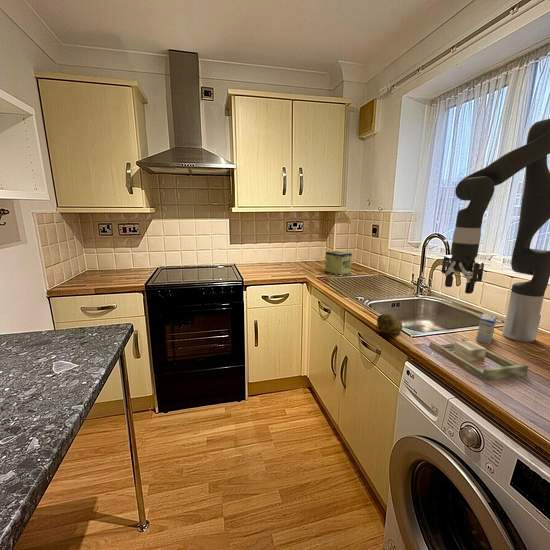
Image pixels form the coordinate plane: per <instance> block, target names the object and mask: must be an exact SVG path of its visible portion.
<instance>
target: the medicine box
mask: <svg viewBox="0 0 550 550" xmlns="http://www.w3.org/2000/svg"><path fill="white" fill-rule="evenodd" d="M496 323H497V315H494V314H489V313H482V315H481V317H480V320H479V323H478V324H479V325H478V329H477V333H476V334H477V335H476V339H475V340H476V341H478V342H481V343H485V344H489V345H490V344H492V340H493V337H494V336H493V335H494V333H495V332H494V331H495V327H496Z"/></svg>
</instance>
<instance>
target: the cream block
mask: <svg viewBox="0 0 550 550" xmlns="http://www.w3.org/2000/svg"><path fill="white" fill-rule="evenodd" d="M454 344H455V345H454V351H452V353H454V354H455V355H457V356H459V357H460V358H462V359H464V360H465V361H467V362H477V361H484V360H485V357H486V355H485V353H486V349H487V348H486V347H484V346H482V345H480V344H478V343H476V342H474V341H472V340H469V341H462V340H461V341H455V342H454Z"/></svg>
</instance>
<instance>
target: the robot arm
mask: <svg viewBox="0 0 550 550" xmlns="http://www.w3.org/2000/svg"><path fill="white" fill-rule="evenodd" d="M525 142H526V144H524V145H521V146H519V147H516V148H514V149H512V150H510V151H508V152H507V153H505V154H503V155H501V156H500V157H498V158H497V159H495V160H494V161H492V162H491V163H490V164H488V165H487V166H486V167H484V168H481V169H480V170H479V169H478V170H477V171H474V172H473V173H471V174H469V175H467V176H466V177H464V178H462V179H461V180H460V181H459V182H458V183H457V186H456V187H455V190H454V191H455V197H456V198H457V199H459V200H460V201H465V202H466V201H467V202H468V201H469V203H468V205H467V206H466V207H464V208H461V209H459V210H458V212H457V214H456V222H455V227H454V231H453V235H452V242H451V249H450V255H451V256H448V255H447V256H443V260H442V266H441V271H440V272H441V274H444V275H445V282H444V286H445V288H451V287H453V282H454V275H455V274H456V273H457V272H458V273H461V274H462V275H463V276H464V277H465V279H466V283H465V289H464V293H465V294H468V295H469V294H473V292H474V291H475V290H474V289H475V284H476V283H478V282H479V283H480V282H482V280H483V275H484V269H485V263H484V262H476V258H477V257H478V254H479V250H480V249H479V247H480V244H481V243H480V242H481V237H482V225H483V219H484V215H485V212H486V211H487V208H488V207H489V205H490V202H491V201H492V198H493V196H494V193H495V187H496V186H499V185H501V184H503V183H505V182H506V181H507V180H510V178H512V177H513V176H514V175H516V174H517V173H519V172H520V171H522V170H523V169H525V173H524V183H523V184H524V185H523V189H522V190H523V191H522V197H521V203H520V211H519V212H520V213H519V222H518V228H517V234H516V238H515V242H514V247H513V250H512V254H511V255H512V256H511V261H510V262H511V263H510V266H511V270H512V271H513V272H514V273H518V274H523V275H529V276H532V277H531V280H529V281H521V282H515V283H513V284H512V285H511V288H510V289H511V290H510V296H509V300H508V305H507V311H506V314H505V315H506V316H505V321H504V326H503V329H502V335H503V336H504V337H505V338H507V339H508V338H509V339H511V340H513V341H518V342H521V343H522V342H523V343H524V342H525V343H532V342H534V341H535V340H536V339H537V335H538V331H539V327H540V323H541V318H542V316H541V311H542V306H543V302H544V297H545V293H546V290H547V288H548V284H549V282H550V281H549V280H550V250H546V249H538V248H537V249H536V248H531V243H532V240H533V238H534V237H535V235H536V233H537V232H538V231H539V230H540V229H542V227H543V226H544V225H545V224H546V223H547V222H549V220H550V169H549V166H548V155H550V118H546V119H542V120H540V121H536V122H534V123H532V125H531V126H530V128H529V130H528V132H527V136H526V141H525Z"/></svg>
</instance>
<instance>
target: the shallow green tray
mask: <svg viewBox="0 0 550 550" xmlns="http://www.w3.org/2000/svg"><path fill="white" fill-rule="evenodd" d="M461 341H470V340H469V339H468V338H466V337H465V338H461ZM454 345H455V343H447V344H438V343H437V342H435V341H433V340H431V341H429V346H430V347H432V348H433V349H434V350H436V351H438V352H439V353H441V354H442V355H444V356H446V357H447V358H448V359H451V360H452V361H454V362H456V363H457V364H458V365H460V366H462V367H463V368H464V369H466V370H468V371H469V370H470V372H471V373H473V374H474V373H475V374H474V375H476V376H477V375H478V376H477V377H479V378H481V379H482V380H484V381H485V380H486V381H493V380H501V379H508V378H509V379H510V378H515V377H523V376H527V375H528V372H529V365H528V364H525V363H523V364H515V363H513V362H512V361H510V360H508V359H506V358H504V357H502V356H501V355H498V354H497V353H494V352H492V351H490V350H489V349H487V348H486V353H485V357H487V358H489V359H492V360H493V361H496V363H497V362H498V363H499V364H501V365H502V366H497V367H490V368H484V369H483V370H482V369H481V368H478V367H477V366H476V365H474V364H472V363H471V362H470V361H466V360H465V359H463V358H462V357H460V356H458V355H457V354H455V353H453V352H454Z"/></svg>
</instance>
